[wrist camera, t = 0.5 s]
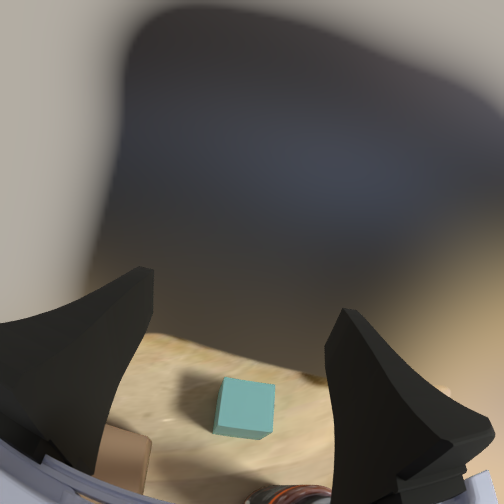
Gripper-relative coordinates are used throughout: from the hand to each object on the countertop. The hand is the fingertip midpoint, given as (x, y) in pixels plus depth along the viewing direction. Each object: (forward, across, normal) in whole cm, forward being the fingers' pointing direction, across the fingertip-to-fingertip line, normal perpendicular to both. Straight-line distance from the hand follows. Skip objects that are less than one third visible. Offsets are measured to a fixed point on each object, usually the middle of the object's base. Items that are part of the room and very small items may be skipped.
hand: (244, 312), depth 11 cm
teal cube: (+7, -2, +18) cm, 20 cm away
